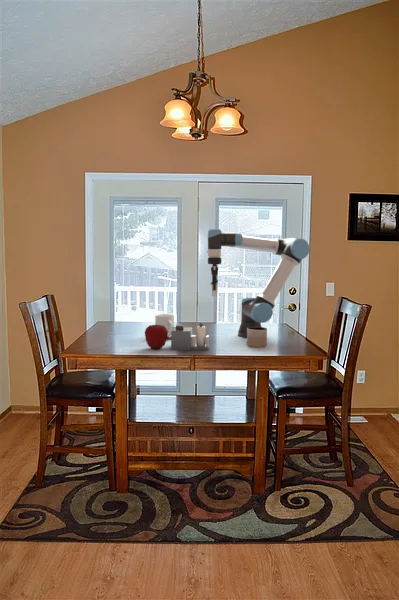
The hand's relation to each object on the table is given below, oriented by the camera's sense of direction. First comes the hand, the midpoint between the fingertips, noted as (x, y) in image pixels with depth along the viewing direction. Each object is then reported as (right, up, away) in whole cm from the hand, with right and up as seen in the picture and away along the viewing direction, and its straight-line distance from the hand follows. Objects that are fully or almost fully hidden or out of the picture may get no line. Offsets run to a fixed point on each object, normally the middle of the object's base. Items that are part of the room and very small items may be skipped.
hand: (214, 295), depth 268 cm
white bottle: (-8, -27, -16) cm, 32 cm away
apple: (-31, -28, -18) cm, 46 cm away
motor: (-15, -28, -16) cm, 35 cm away
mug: (-28, -25, +12) cm, 40 cm away
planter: (+23, -28, -7) cm, 37 cm away
